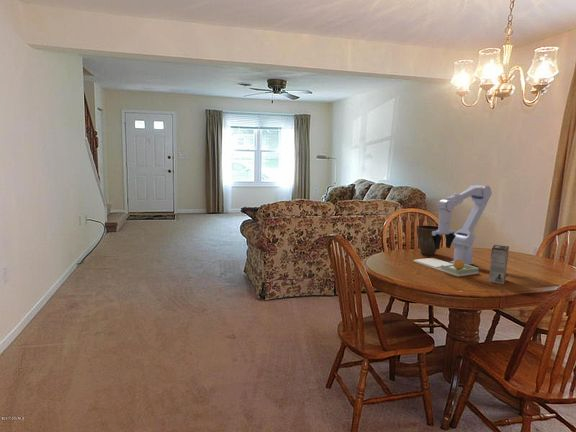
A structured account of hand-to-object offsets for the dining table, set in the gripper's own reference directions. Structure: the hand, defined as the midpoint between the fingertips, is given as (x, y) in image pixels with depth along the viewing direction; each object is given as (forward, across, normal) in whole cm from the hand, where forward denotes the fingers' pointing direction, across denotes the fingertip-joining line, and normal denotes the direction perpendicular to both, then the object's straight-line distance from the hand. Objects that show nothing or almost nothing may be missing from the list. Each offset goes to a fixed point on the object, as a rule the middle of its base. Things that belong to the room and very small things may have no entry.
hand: (442, 248), depth 208 cm
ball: (+6, +1, +12) cm, 13 cm away
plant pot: (+10, -14, -24) cm, 29 cm away
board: (+9, +1, +3) cm, 10 cm away
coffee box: (+10, -4, +30) cm, 32 cm away
